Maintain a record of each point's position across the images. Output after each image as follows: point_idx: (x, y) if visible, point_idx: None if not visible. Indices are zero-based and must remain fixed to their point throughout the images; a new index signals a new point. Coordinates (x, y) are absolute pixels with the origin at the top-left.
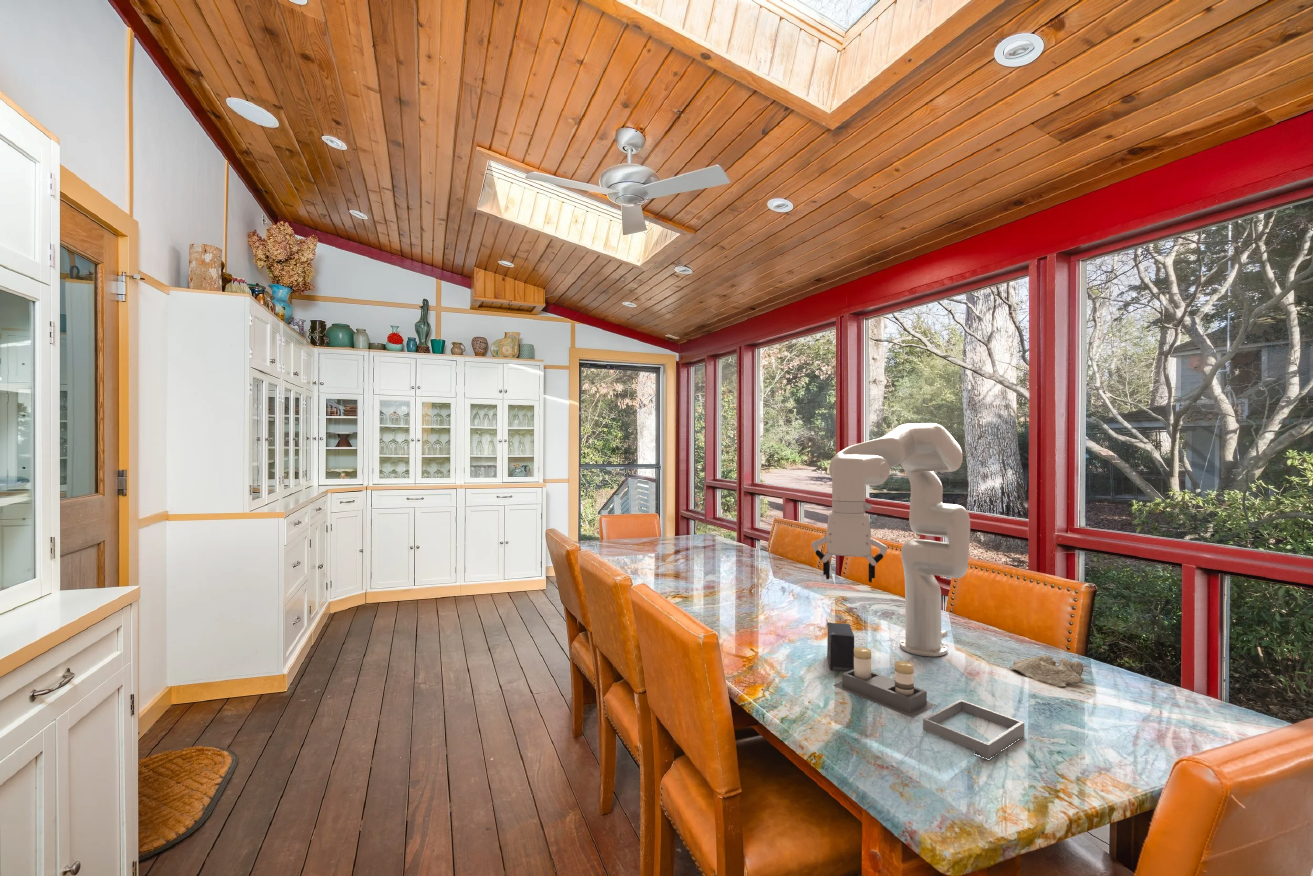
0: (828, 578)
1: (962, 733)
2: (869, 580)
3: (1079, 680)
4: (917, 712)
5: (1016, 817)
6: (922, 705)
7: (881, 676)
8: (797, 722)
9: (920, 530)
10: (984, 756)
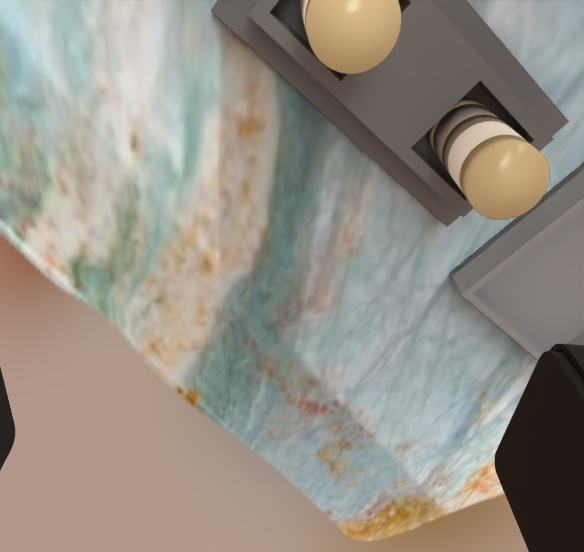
0: (3, 440)
1: (530, 345)
2: (508, 476)
3: None
4: None
5: (494, 481)
6: None
7: (421, 14)
8: (120, 279)
9: None
10: None
